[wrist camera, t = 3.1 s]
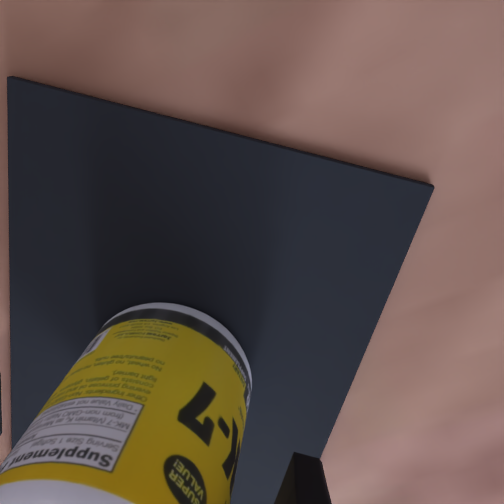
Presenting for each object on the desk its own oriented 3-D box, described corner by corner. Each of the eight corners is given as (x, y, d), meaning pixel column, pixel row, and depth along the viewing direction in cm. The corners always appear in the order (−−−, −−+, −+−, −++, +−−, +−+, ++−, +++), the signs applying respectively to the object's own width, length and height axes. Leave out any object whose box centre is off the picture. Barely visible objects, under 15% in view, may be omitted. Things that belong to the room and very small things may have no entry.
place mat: (433, 184, 11) (435, 187, 11) (235, 653, 21) (235, 659, 21) (11, 75, 11) (6, 76, 11) (15, 592, 21) (13, 597, 21)
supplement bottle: (266, 425, 14) (207, 862, 7) (122, 430, 15) (-68, 821, 8) (236, 287, 12) (109, 690, 5) (73, 302, 13) (-243, 662, 6)
